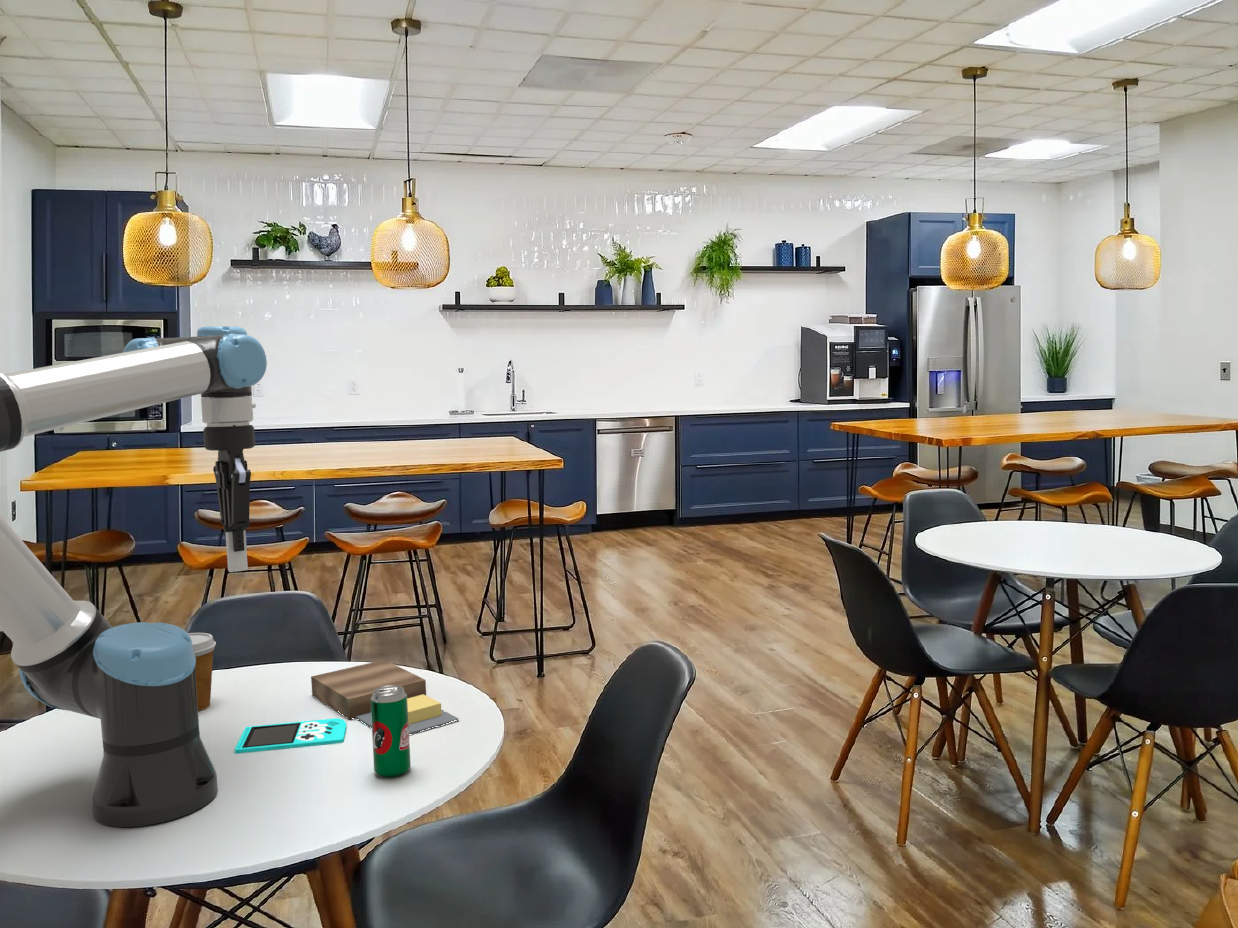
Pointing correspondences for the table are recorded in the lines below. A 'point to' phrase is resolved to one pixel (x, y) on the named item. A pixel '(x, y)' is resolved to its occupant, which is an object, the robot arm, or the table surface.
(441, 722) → the mat
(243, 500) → the robot arm
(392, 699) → the soda can
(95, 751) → the table surface
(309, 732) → the handheld game console
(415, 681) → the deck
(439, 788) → the table surface
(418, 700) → the yellow rectangular block
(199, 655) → the disposable coffee cup
